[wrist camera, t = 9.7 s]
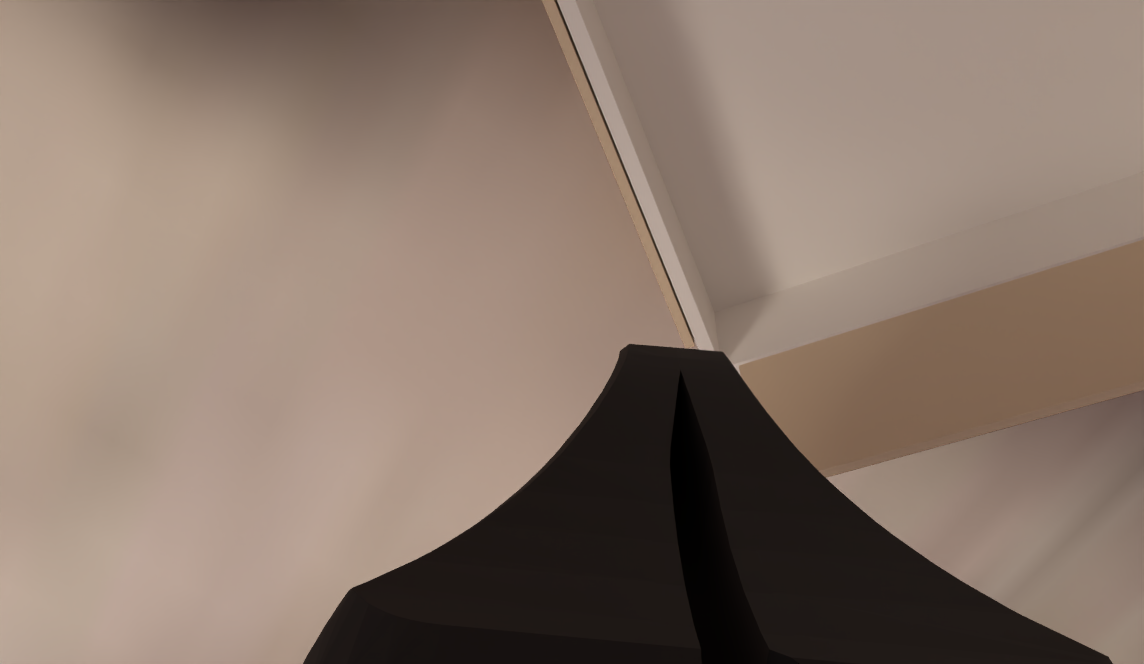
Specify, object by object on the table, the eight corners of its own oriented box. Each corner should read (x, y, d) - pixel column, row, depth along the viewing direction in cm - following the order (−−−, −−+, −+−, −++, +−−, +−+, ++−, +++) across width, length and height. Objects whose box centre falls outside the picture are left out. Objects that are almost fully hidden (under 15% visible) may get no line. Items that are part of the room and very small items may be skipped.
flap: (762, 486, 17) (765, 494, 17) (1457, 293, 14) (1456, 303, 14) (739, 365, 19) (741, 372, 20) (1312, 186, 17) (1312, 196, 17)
